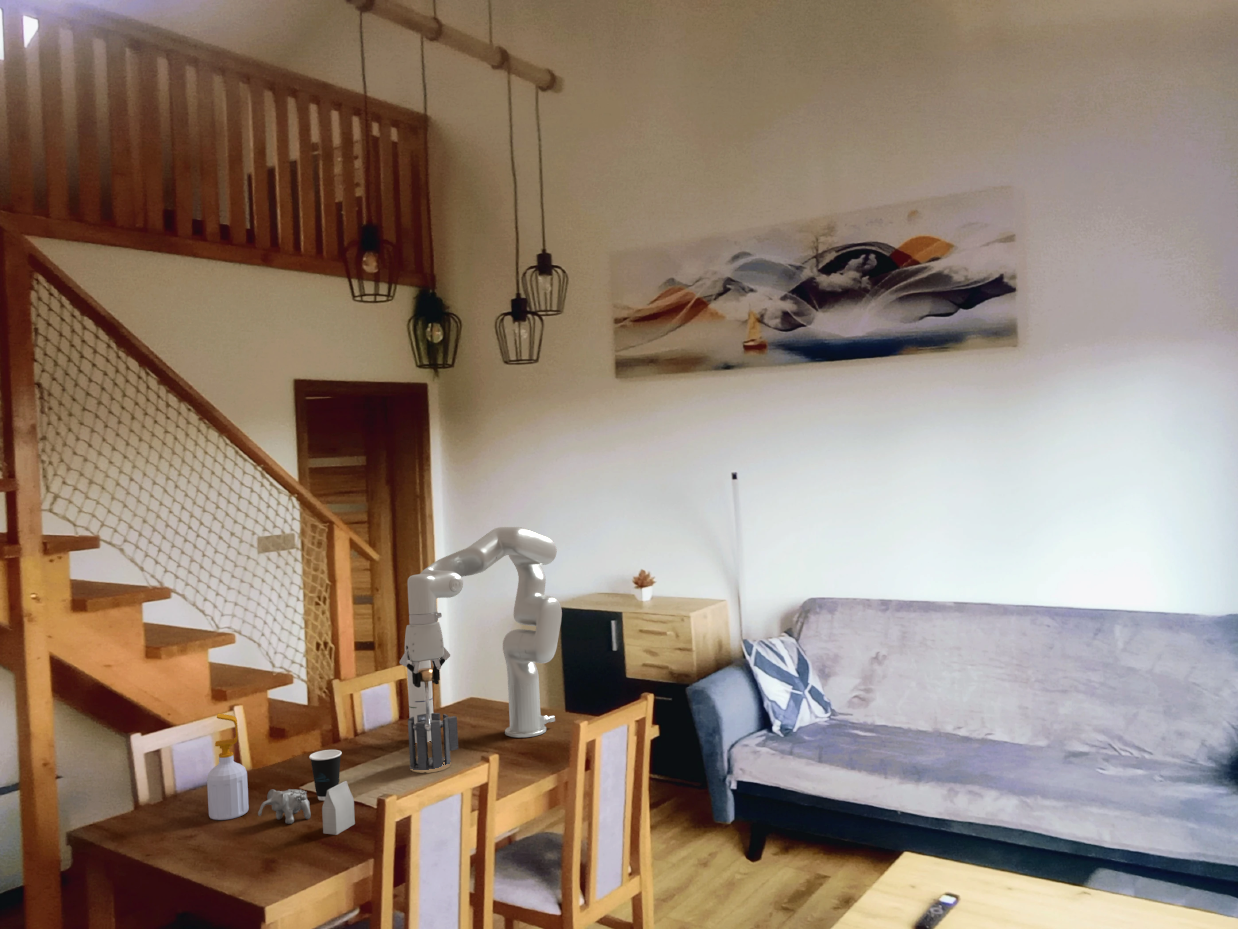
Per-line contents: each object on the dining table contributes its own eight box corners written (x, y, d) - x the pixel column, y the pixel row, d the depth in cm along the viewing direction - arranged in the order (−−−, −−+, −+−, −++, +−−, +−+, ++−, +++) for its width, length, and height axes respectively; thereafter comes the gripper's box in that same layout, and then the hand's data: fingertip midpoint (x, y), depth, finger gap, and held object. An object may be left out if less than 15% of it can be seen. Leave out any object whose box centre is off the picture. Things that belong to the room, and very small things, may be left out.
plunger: (437, 721, 274) (434, 664, 274) (448, 727, 267) (445, 669, 267) (408, 726, 269) (405, 669, 269) (419, 732, 262) (416, 674, 262)
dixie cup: (339, 789, 252) (337, 747, 252) (347, 798, 245) (345, 754, 245) (308, 796, 248) (306, 753, 248) (315, 805, 241) (312, 760, 241)
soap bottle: (209, 811, 240) (204, 712, 240) (248, 805, 244) (244, 707, 244) (208, 823, 232) (203, 720, 232) (248, 816, 235) (243, 715, 235)
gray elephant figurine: (318, 816, 234) (317, 784, 234) (281, 832, 223) (281, 798, 223) (288, 813, 238) (288, 781, 238) (251, 828, 227) (251, 795, 227)
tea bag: (354, 824, 227) (352, 781, 227) (336, 834, 221) (334, 791, 221) (341, 822, 228) (339, 780, 228) (323, 833, 222) (321, 789, 222)
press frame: (450, 756, 277) (447, 709, 277) (465, 765, 268) (463, 716, 268) (404, 766, 270) (401, 717, 270) (418, 776, 260) (416, 726, 260)
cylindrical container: (431, 743, 291) (427, 660, 291) (408, 744, 292) (404, 661, 291) (436, 736, 298) (432, 655, 298) (413, 737, 299) (409, 656, 299)
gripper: (446, 614, 276) (449, 678, 276) (389, 621, 267) (392, 687, 267) (457, 616, 269) (460, 682, 269) (398, 624, 260) (401, 692, 260)
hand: (426, 684), depth 268 cm, fingers open, 4 cm apart
